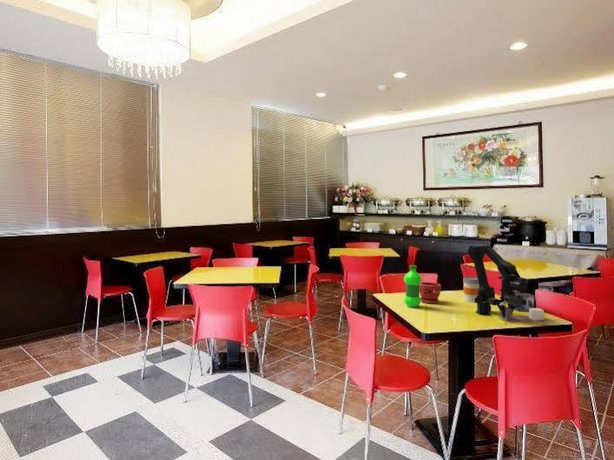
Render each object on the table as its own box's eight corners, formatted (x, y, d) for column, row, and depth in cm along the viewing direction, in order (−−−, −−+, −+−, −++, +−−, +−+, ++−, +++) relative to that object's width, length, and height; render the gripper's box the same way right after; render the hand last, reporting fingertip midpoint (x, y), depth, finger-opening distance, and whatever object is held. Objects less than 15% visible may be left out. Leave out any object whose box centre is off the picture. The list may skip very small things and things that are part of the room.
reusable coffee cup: (479, 299, 268) (480, 276, 268) (486, 303, 256) (486, 280, 255) (460, 298, 270) (460, 276, 269) (465, 303, 257) (466, 279, 256)
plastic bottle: (401, 307, 245) (402, 266, 244) (406, 303, 255) (407, 264, 253) (418, 309, 241) (419, 267, 239) (422, 305, 250) (423, 265, 249)
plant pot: (436, 305, 251) (436, 286, 250) (415, 302, 259) (416, 283, 258) (443, 301, 261) (443, 283, 260) (423, 298, 269) (423, 280, 268)
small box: (519, 314, 231) (519, 295, 231) (510, 311, 238) (511, 293, 237) (534, 312, 234) (535, 294, 234) (525, 310, 241) (526, 292, 240)
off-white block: (534, 320, 214) (534, 310, 214) (528, 317, 219) (529, 308, 219) (543, 319, 214) (544, 310, 214) (537, 317, 219) (538, 308, 219)
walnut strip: (510, 324, 210) (510, 310, 209) (497, 317, 222) (497, 305, 221) (554, 323, 211) (554, 310, 211) (539, 317, 223) (540, 304, 223)
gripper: (498, 291, 206) (497, 321, 207) (533, 291, 207) (532, 321, 208) (487, 287, 217) (486, 316, 218) (520, 286, 218) (519, 315, 219)
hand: (506, 317), depth 216 cm, fingers closed on walnut strip, 3 cm apart
